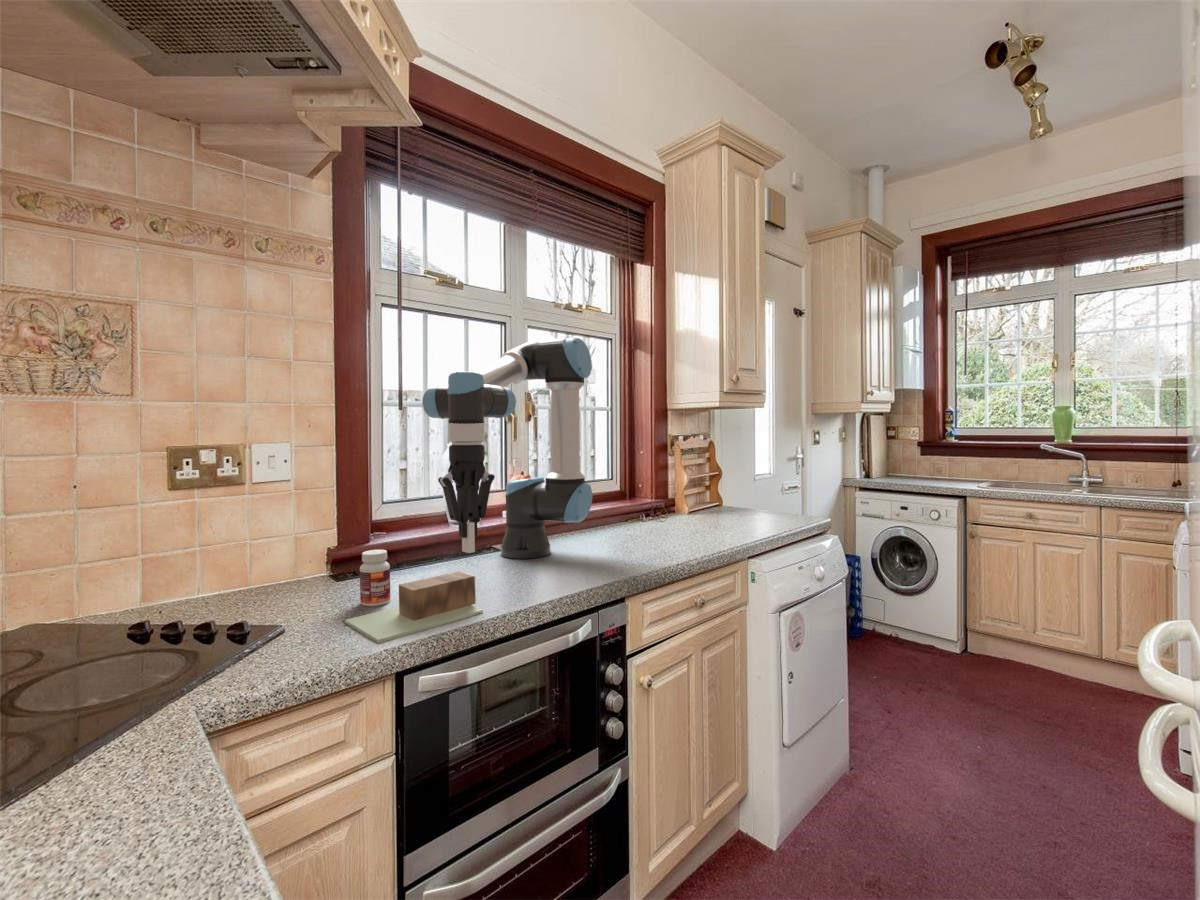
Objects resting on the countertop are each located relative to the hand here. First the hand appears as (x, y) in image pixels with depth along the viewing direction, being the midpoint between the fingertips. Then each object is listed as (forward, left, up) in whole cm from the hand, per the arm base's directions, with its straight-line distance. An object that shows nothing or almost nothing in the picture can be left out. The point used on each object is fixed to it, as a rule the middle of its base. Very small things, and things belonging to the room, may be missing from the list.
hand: (468, 551), depth 118 cm
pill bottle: (+14, -16, -12) cm, 24 cm away
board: (+12, 0, -11) cm, 17 cm away
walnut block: (0, 0, -8) cm, 8 cm away
